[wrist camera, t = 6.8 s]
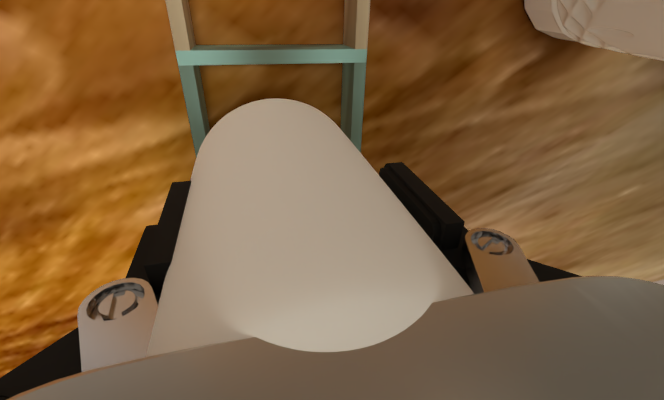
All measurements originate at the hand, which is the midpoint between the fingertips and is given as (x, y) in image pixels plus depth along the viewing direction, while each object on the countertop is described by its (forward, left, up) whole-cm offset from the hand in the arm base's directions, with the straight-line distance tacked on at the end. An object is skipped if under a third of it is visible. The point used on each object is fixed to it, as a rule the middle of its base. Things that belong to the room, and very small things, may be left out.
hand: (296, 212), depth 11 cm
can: (0, 0, -4) cm, 4 cm away
